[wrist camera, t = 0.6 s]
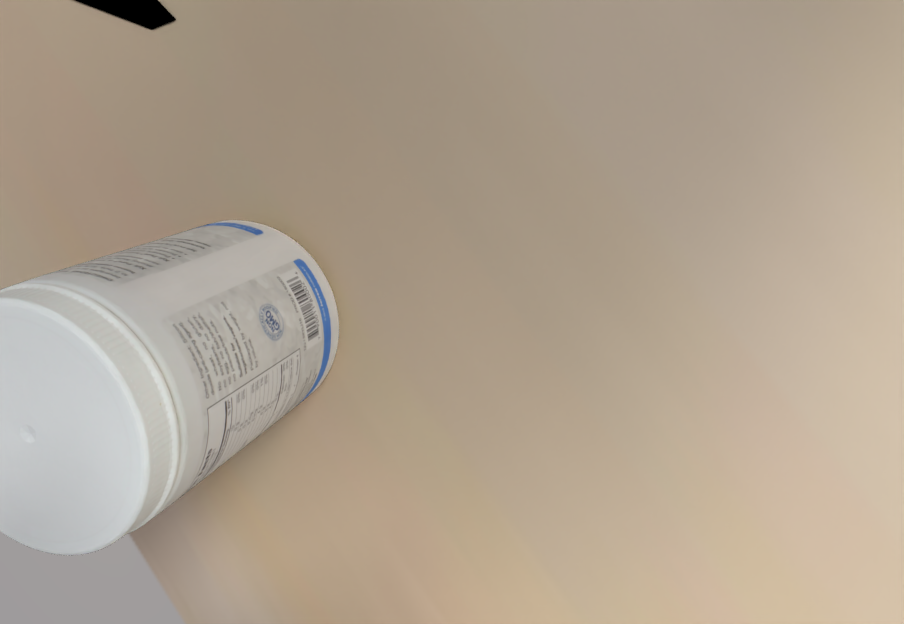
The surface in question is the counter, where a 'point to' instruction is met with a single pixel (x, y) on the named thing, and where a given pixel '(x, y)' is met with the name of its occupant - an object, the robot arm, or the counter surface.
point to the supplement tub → (150, 376)
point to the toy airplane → (135, 11)
